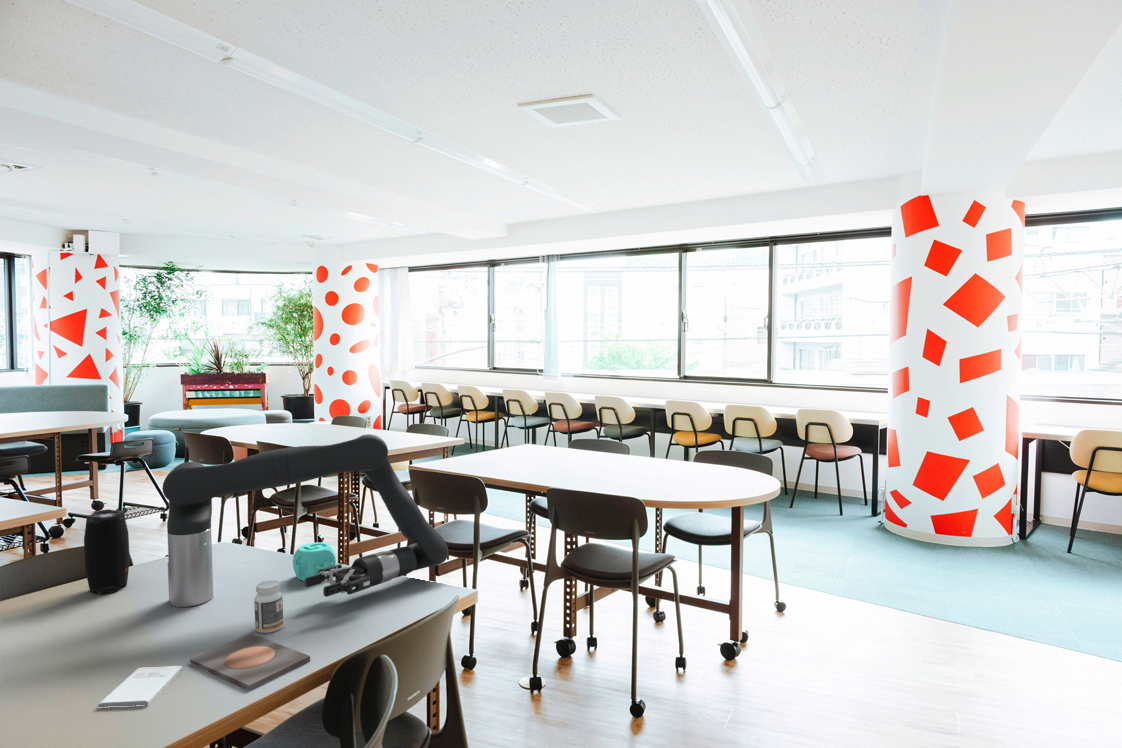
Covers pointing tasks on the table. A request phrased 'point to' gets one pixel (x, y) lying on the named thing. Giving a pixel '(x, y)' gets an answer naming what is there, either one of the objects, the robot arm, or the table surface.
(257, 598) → the pill bottle
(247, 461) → the robot arm
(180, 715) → the table surface
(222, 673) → the dark grey flat slab
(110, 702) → the external hard drive
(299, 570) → the decorative dice
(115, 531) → the portable speaker
